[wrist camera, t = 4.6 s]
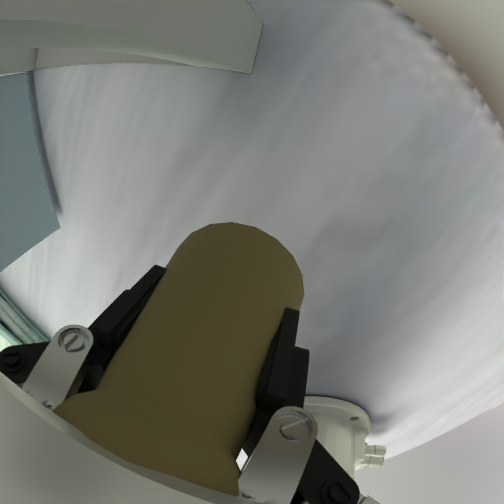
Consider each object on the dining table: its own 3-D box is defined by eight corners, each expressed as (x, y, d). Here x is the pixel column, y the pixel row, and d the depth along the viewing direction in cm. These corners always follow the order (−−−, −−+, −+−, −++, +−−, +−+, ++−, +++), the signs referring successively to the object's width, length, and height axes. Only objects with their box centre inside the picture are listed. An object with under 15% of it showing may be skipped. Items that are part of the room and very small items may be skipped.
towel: (63, 394, 41) (50, 414, 36) (-16, 315, 37) (-31, 331, 32) (81, 364, 32) (61, 392, 28) (-20, 258, 28) (-43, 277, 24)
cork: (185, 201, 12) (-54, 409, 2) (327, 255, 11) (295, 592, 2) (164, 310, 15) (38, 491, 5) (275, 355, 14) (213, 573, 5)
